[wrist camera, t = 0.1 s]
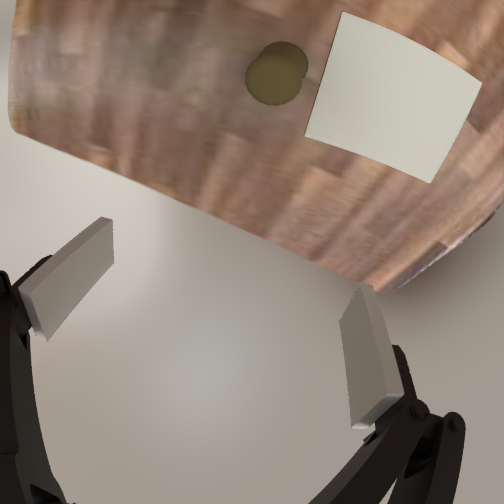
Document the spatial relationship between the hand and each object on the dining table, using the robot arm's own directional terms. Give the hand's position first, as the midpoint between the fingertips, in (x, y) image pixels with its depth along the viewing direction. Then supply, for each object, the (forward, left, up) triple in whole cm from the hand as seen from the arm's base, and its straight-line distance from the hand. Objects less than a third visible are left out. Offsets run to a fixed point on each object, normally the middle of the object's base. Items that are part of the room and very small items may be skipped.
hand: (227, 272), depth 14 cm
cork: (-3, -4, -28) cm, 28 cm away
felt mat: (-13, +6, -28) cm, 31 cm away
